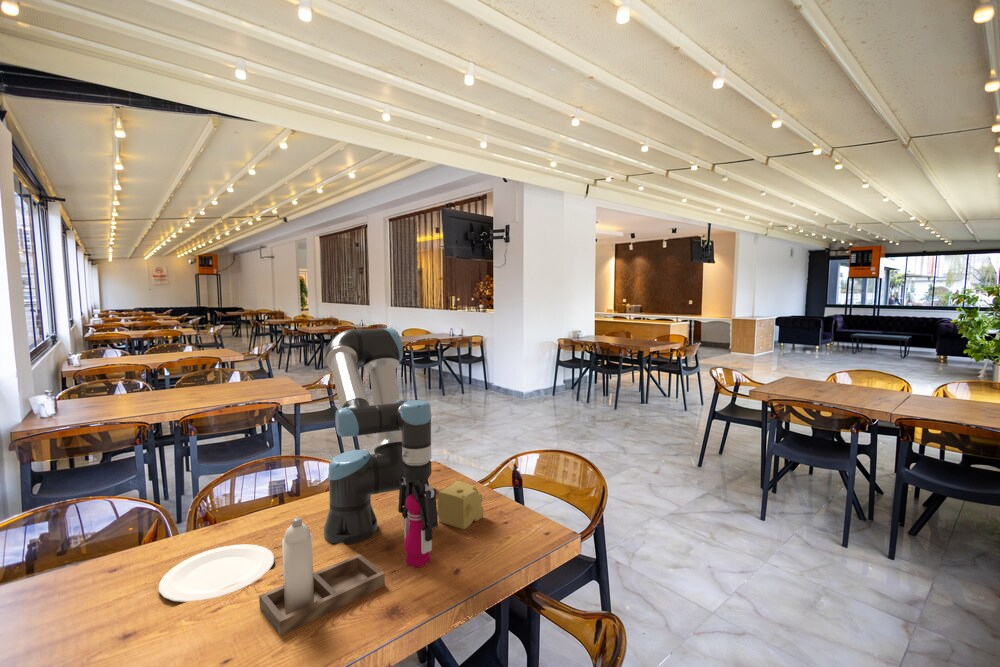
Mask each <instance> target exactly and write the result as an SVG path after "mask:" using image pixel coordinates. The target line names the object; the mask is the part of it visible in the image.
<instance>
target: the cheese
mask: <svg viewBox="0 0 1000 667" xmlns="http://www.w3.org/2000/svg"><path fill="white" fill-rule="evenodd" d="M482 503H483V494H482V493H480V492H479V490H478V488H477V487H476V486H475V485H471V484H469V483H467V482H464V481H460V480H456V481H455V482H453V483H452V484H451V485H449V486H447V487H445V488H444V489H442V490H440V491H438V497H437V518H438V523H442V524H445V525H449V526H453V527H455V528H458V529H461V530H465V529H467V528H468V527H469V526H471V525H472V524H473V522H478V521H479V520H481V519H482V518H484V511H485V510H484V506H483V505H482Z"/></svg>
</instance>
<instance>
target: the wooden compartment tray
mask: <svg viewBox="0 0 1000 667" xmlns="http://www.w3.org/2000/svg"><path fill="white" fill-rule="evenodd" d="M385 577H386V574H385V572H383V570H381V569H379V568H378V567H377V566H375V565H374V564H373V563H372V562H371V561H369V560H368V559H367V558H365V557H364V556H363V555H361V554H360V553H359V554H356V555H354V556H352V557H349V558H346V559H344V560H341V561H339V562H337V563H334V564H332V565H330V566H329V565H328V567H325V568H322V569H320V570H317V571H314V572H313V580H314V603H312V604H309V605H307V606H305V607H303V608H301V609H298V610H296V611H294V612H292V613H290V614H288V615H286V614H285V606H284V584H283V585H282V586H278V587H277V588H273V589H271V590H269V591H267V592H264V593H262V594H260V595H259V596H258V598H259V599H258V600H259V610H260V611H261V612H262V613H263V615H264V616H265V618H266V620H268V622H269V623H270V625H271V626H272V627H273V628H274V630H275V631H276V633H278V635H279V637H281V636H284V635H286V634H288V633H290V632H292V631H294V630H296V629H298V628H301V627H302V626H304V625H306V624H309V623H311V622H312V621H314V620H317V619H319V618H321V617H323V616H325V615H327V614H329V613H331V612H333V611H336V610H339V609H340V608H341V607H345V606H346V605H348V604H350V603H352V602H354V601H356V600H359V599H360V598H362V597H365V596H367V595H368V594H371V593H373V592H375V591H377V590H379V589H381V588H383V587H385V586H386V583H385V582H386V578H385Z"/></svg>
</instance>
